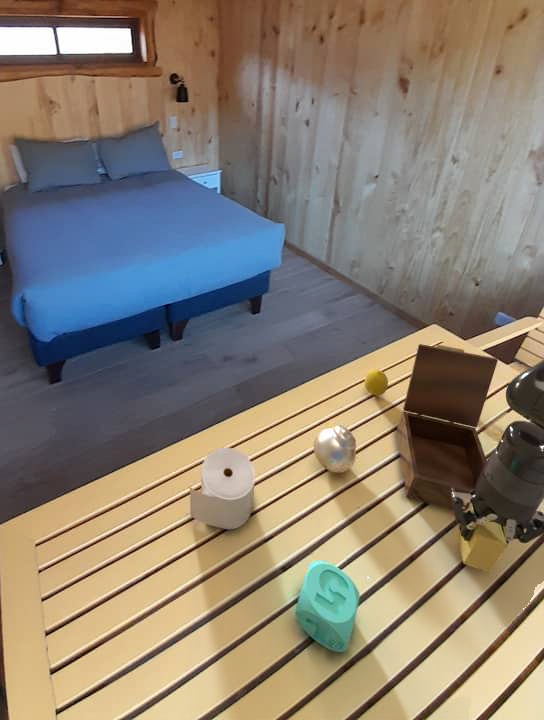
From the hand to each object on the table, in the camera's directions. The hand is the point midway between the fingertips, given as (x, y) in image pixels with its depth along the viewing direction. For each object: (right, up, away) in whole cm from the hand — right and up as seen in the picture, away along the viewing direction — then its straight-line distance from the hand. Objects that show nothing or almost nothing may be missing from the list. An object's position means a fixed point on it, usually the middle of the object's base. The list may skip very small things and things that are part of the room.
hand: (479, 539), depth 71 cm
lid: (+7, +20, +18) cm, 28 cm away
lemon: (-1, +11, +37) cm, 39 cm away
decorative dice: (-29, -10, -4) cm, 31 cm away
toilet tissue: (-44, -2, +12) cm, 46 cm away
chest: (+4, +2, +18) cm, 18 cm away
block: (0, -4, +2) cm, 4 cm away
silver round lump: (-19, +2, +20) cm, 28 cm away
